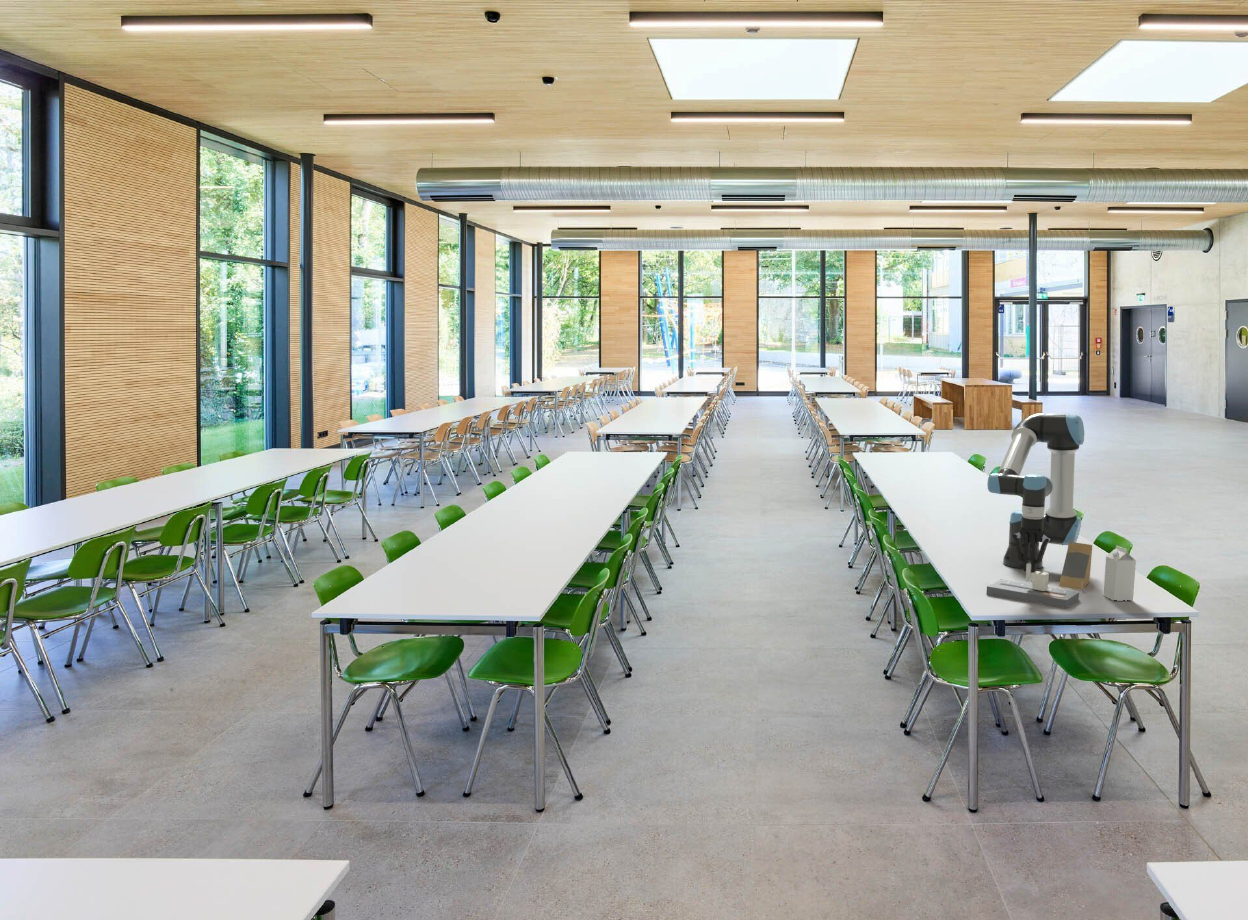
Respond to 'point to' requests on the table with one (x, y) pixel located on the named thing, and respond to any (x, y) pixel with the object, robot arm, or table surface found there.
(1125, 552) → the milk carton
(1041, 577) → the fader knob
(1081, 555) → the sandwich container
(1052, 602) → the fader console
